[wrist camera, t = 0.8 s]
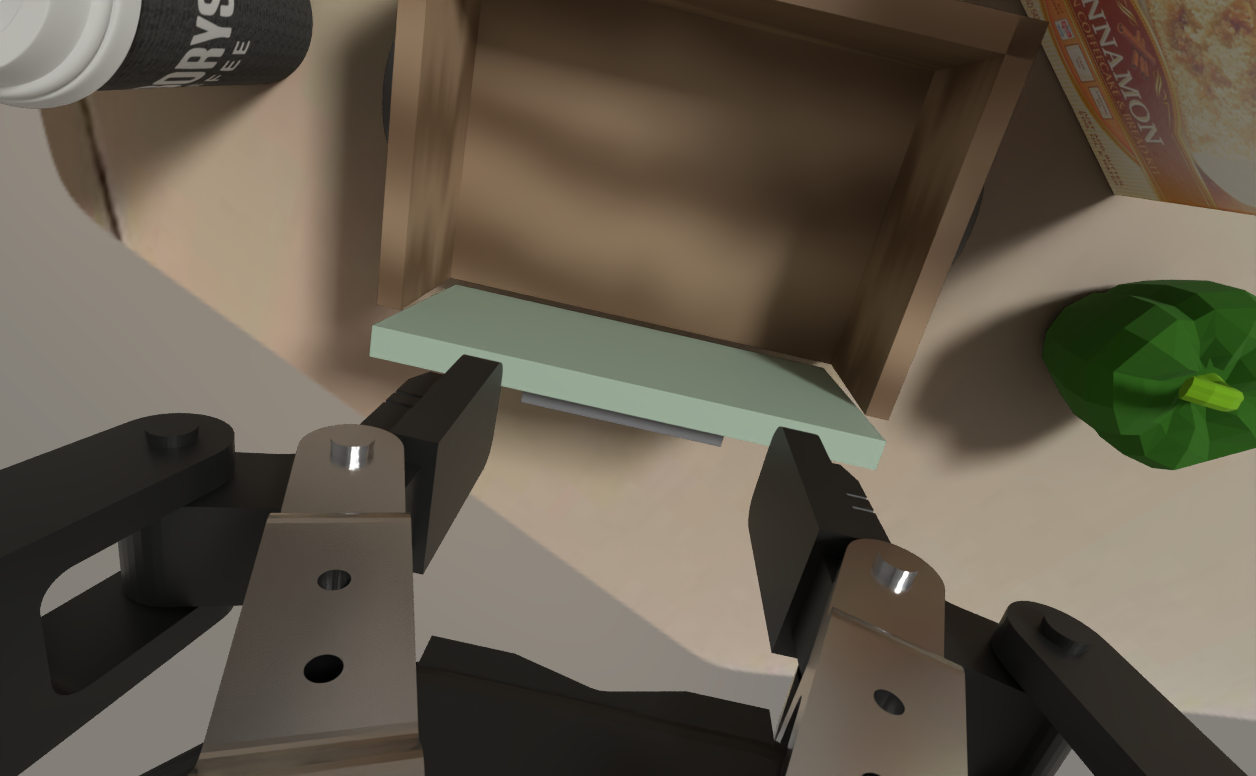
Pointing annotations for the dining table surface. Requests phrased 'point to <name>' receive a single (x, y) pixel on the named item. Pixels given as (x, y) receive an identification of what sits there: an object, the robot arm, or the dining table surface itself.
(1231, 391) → the bell pepper
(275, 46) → the coffee cup
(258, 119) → the dining table surface
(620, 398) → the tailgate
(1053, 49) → the coffeecake box
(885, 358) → the box
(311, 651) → the robot arm
